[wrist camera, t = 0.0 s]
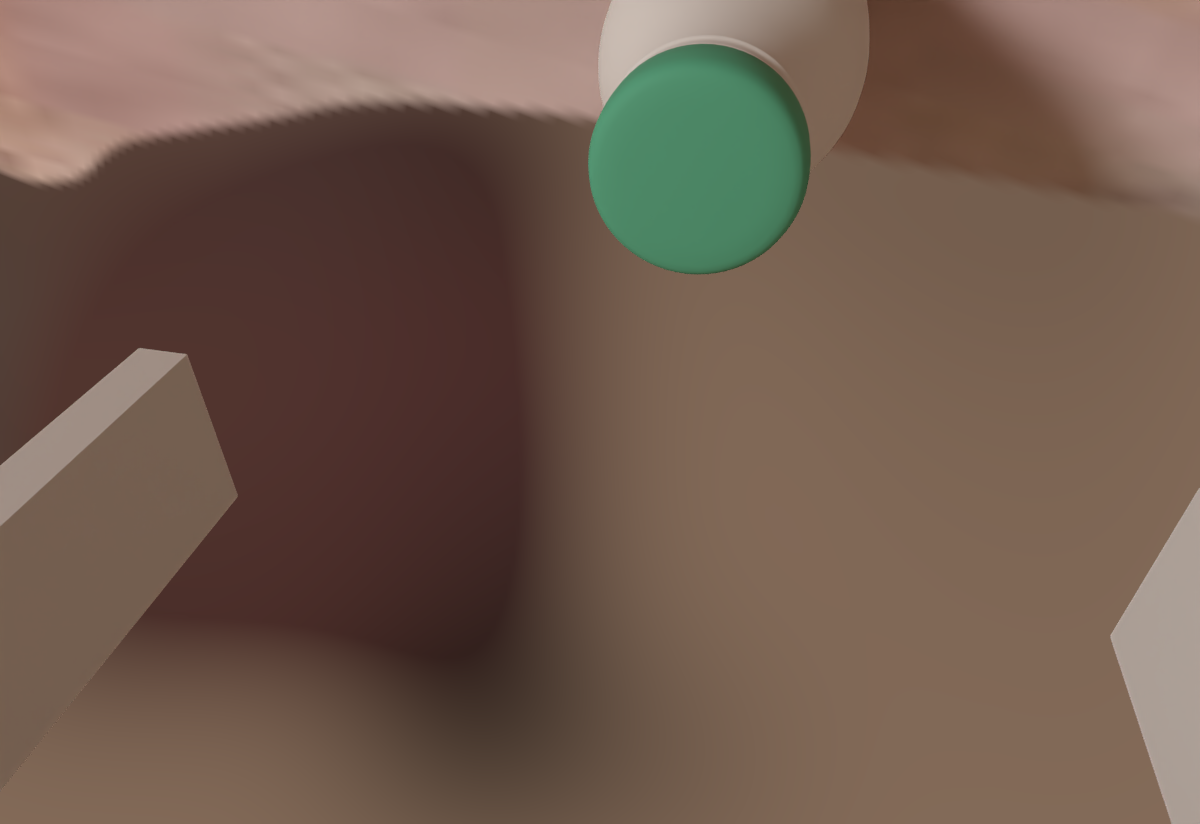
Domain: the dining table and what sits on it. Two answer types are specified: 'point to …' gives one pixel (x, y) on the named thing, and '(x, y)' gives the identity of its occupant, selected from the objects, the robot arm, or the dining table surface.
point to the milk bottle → (719, 121)
